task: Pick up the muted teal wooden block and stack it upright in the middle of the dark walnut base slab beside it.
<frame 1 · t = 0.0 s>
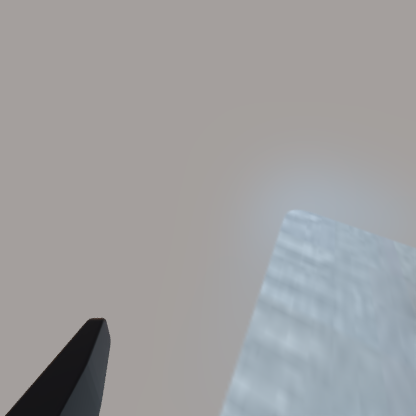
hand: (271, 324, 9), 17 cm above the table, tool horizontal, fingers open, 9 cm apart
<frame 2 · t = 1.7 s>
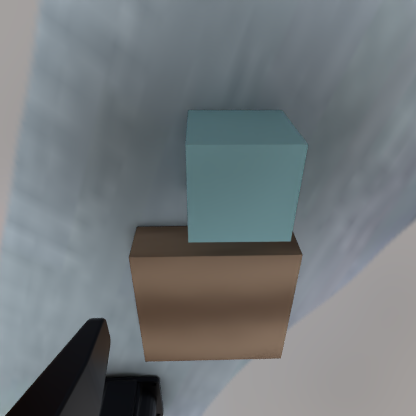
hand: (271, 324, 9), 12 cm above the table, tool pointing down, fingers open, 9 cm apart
block: (232, 153, 19), on the table
walnut base: (212, 281, 24), on the table
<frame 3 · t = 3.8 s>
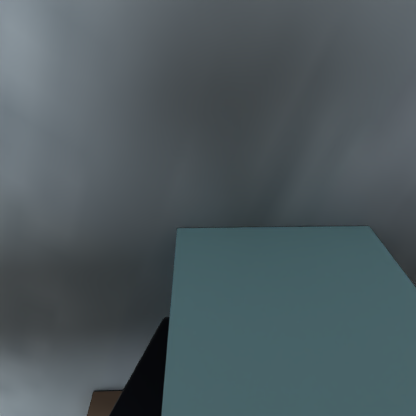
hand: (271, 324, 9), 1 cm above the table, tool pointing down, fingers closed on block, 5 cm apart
block: (264, 294, 10), on the table, touching gripper
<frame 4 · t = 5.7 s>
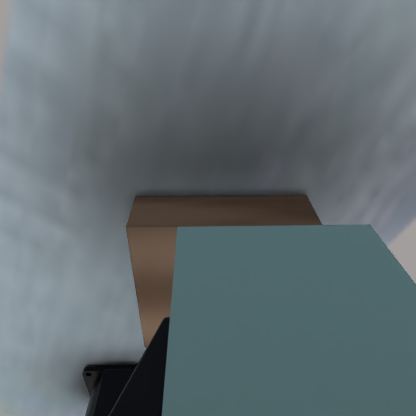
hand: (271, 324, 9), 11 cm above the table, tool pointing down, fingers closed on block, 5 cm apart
block: (264, 293, 10), point 10 cm above the table, touching gripper
walnut base: (219, 260, 22), on the table
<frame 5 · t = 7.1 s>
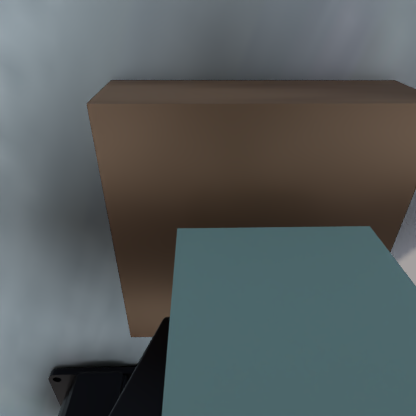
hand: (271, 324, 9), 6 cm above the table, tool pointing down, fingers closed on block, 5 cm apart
block: (264, 295, 10), point 5 cm above the table, touching gripper
walnut base: (245, 201, 14), on the table
when the fingers open (5 cm above the table, at t = 8.0 s): block drops 1 cm, resting on walnut base.
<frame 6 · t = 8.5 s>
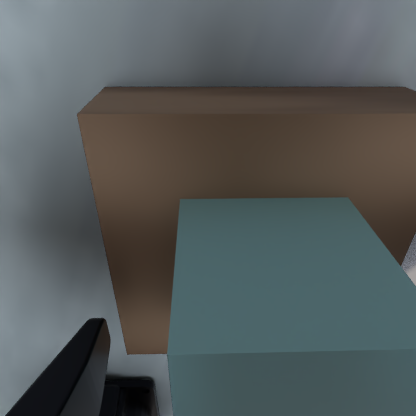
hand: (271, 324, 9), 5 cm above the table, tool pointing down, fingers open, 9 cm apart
block: (257, 261, 11), point 3 cm above the table, touching walnut base
walnut base: (246, 212, 14), on the table
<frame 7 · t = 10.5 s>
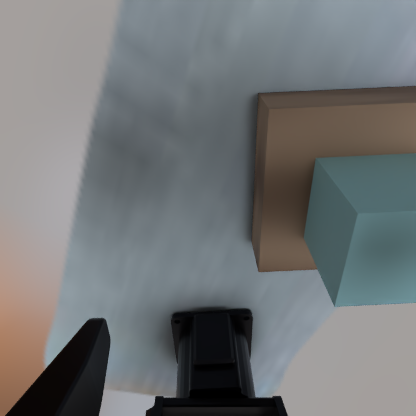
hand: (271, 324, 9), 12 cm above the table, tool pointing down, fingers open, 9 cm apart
block: (355, 198, 18), point 3 cm above the table, touching walnut base
walnut base: (336, 173, 20), on the table
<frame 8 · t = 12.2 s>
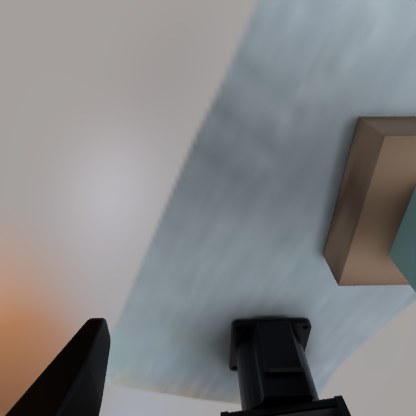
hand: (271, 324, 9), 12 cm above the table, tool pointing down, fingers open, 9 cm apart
walnut base: (415, 194, 21), on the table
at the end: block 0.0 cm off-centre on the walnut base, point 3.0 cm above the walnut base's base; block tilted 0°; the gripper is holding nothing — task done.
